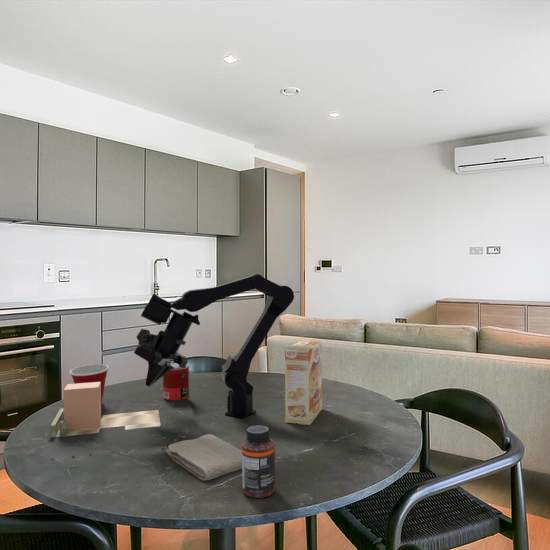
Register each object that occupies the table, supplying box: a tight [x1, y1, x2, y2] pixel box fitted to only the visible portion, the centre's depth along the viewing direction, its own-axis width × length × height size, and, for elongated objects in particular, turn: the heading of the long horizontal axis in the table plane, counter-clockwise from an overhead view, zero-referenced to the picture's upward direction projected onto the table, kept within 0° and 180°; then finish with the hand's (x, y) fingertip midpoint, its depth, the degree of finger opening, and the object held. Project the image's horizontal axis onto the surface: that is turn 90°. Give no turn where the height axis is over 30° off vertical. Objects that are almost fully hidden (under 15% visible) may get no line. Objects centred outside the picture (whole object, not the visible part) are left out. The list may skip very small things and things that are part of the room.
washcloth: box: [166, 433, 242, 481], centre depth 95 cm, size 12×18×3 cm, turn 40°
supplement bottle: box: [241, 425, 276, 499], centre depth 81 cm, size 6×6×11 cm
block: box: [63, 382, 102, 431], centre depth 113 cm, size 8×6×10 cm
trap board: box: [50, 407, 161, 439], centre depth 115 cm, size 25×14×4 cm, turn 107°
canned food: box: [162, 362, 190, 401], centre depth 139 cm, size 8×8×11 cm
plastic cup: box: [69, 363, 110, 405], centre depth 132 cm, size 11×11×12 cm
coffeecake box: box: [284, 340, 323, 426], centre depth 123 cm, size 15×7×20 cm, turn 161°
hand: (147, 385), depth 119 cm, fingers closed
